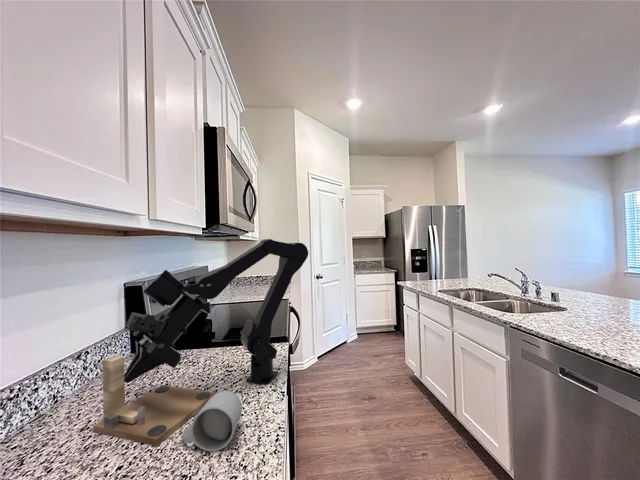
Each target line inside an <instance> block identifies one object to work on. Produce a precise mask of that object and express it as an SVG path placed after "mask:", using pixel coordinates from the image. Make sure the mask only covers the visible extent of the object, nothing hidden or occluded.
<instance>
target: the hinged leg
mask: <svg viewBox="0 0 640 480" xmlns="http://www.w3.org/2000/svg"><path fill="white" fill-rule="evenodd" d="M101 362H102V409H103V411H102V413H103V414H102V415H103V419H102V420H104V417H106V416H108V415H110V414H115V415H118V418H119V421H120V422H126V423H131V424H134V423H135V422H136V421H138V411H133V410H127V409H125V407H126V396H125V395H126V392H125V391H126V387H125V384H126V382H124V379H125V377H124V374H125V356H124V355H112V356H110V357H107V358H104V359H103V360H102V361H101Z"/></svg>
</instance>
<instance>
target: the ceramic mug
mask: <svg viewBox="0 0 640 480" xmlns="http://www.w3.org/2000/svg"><path fill="white" fill-rule="evenodd" d="M242 411H243V404H242V401H241V399H240V397H239V396H238V395H237V394H236V393H235V392H233V391H229V390H221V391H219V392H216V394H215V395H214V396H212V397H211V398H210V399H209V400H208V402H207V403H206V404H205V406H204V407H203V408H202V409H201V410H200V411H199V412H198V413H197V414H195V416H194V418H193V420H192V423H191V424H189V425H188V426H187V427H186V428H185V429H184V430H183V431H182V433H181V434H180V435H181V438H182V441H183V443H184V444H186V445H187V444H190V443H195V445H196V446H197V447H198V448H199V449H201V450H202V451H206V452H217V451H221V450H222V449H224V448H225V447H227V446H228V445H229V444H230V442H231V441H232V440H233V437H234V435H235V431H236V430H237V427H238V424H239V422H240V420H241V417H242V414H243V413H242Z"/></svg>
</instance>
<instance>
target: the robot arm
mask: <svg viewBox="0 0 640 480" xmlns="http://www.w3.org/2000/svg"><path fill="white" fill-rule="evenodd" d="M268 255H274V256H278V257H279V258H278V269H277V271H276V273H275V276H274V278H273V280H272V282H271V285H270V286H269V289H268V291H267V293H266V295H265V297H264V299H263V301H262V304H261V305H260V308H259V311H258V312H257V314H256V316H255V317H253V318H252V320H251V319H249V318H246V319H245V323H244V325H243V326H244V327H243V328H242V329H241V330H240V333H239V334H241V335H240V341H241V344H242V345H243V347H244V348H245V349H246V350H247V351H248V353H250V354H251V356H250V375H249V377H248V376H247V378H246V382H248V383H254V384H255V383H256V384H263V385H268V384H270V383H271V381H273V379H275V377H277V375H279V372H278V371H276V370H275V371H274V363H273V360H274V359H276V357H277V353H278V350H277V349H276V347H274V346H273V345H272V344H270V340H271V336H272V326H273V324H272V323H273V320H274V319H275V317H276V314H277V312H278V310H279V307H280V306H281V303H282V301H283V298H284V297H285V294H286V292H287V290H288V287H290V283H291V280H292V278H293V276H294V275H295V274H296V273H297V271H299V270H300V269H301V268H302V266H303V265H304V264H305V262H306V260H307V258H308V257H309V250H308V247H307V246H306V244H304V243H303V242H289V243H288V242H283V241H278V240H274V239H272V238H267V239H261V240H260V241H259V242H258V243H257V244H256V245H253V246H252V247H251V248H249V249H248V250H247V251H245V252H243V253H241V254H240V255H238V257H236V258H234V259H232V260H231V261H230V262H228V263H227V264H225V265H223V266H220V267H217V268H215V269H213V270H210V271H207V272H204V273H203V274H201V275H199V276H198V277H197V278H196V279H193V280H191V281H190V280H189V281H186V282H181V281H180V280H178V279H177V278H176V277H175V276H174V275H172V273H171V272H170V271H168V270H167V269H165V270H164V271H162V272H161V273H160V274H159V275H158V276H156V278H153V279H152V280H151V282H150V283H149V284H148V285H147V286H146V287H144V289H143V290H142V293H143V294H144V295H145V296H146V297H149V299H151V300H153V301H154V302H156V303H157V304H158V305H160V306H161V307H165V306H170V307H171V306H172V305H173V304H174V305H173V306H172V307H171V308H170V309H169V310H168V312H167V313H166V314H165V313H161V314H159V315H158V317H156V316H155V315H154V314H149V313H145V314H143V313H142V314H141V313H138V312H131V314H130V316H129V318H128V320H127V322H126V323H125V328H127V330H128V331H131V332H132V335H133V336H134V337H135V338H138V339H139V341H137V340H135V351H136V352H135V354H134V356H133V358H132V359H131V361H130V363H129V366H128V367H127V369H126V371H124V377H125V379H124V382H125V384H129V383H131V382H132V381H134V380H136V379H138V378H139V377H141V376H143V375H145V374H146V373H148V372H150V371H152V370H153V369H155V368H157V367H159V366H161V365H165V364H166V365H168V366H169V367H171V368H173V369H176V368H177V366H178V365H179V364H180V362H181V361H182V354H181V353H180V352H179V351H178V350H176V349H175V347H176V345H174V344H175V343H176V341H177V340H178V339H179V338H180V336H181V335H182V334H184V335H186V334H187V333H188V332H189V330H188V329H187V328H188V327H189V326H191V324H192V322H193V321H194V320H195V319H196V318H197V316H199V314H200V313H201V312H204V313H206V314H208V315H209V314H211V306H210V305H211V302H210V301H206V302H204V301H203V300H202V299H200V298H203V299H205V300H213V299H215V298H217V297H218V296H219V295H220V294H221V293H222V292H224V290H225V289H226V288H227V287H228V286H229V285H230V284H231V282H232V281H233V280H234V279H235V278H237V277H238V276H240V275H241V274H243V273H244V272H246V270H248V269H251V267H252V266H254V265H256V264H257V263H259V262H260V261H261V260H263V259H264V258H267V256H268ZM184 291H185V292H184ZM187 293H188V294H189V295H188V294H187ZM190 295H192V297H191V296H190ZM193 295H194V296H193ZM197 296H199V297H200V298H199V297H197Z"/></svg>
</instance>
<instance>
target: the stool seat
mask: <svg viewBox="0 0 640 480" xmlns="http://www.w3.org/2000/svg"><path fill="white" fill-rule="evenodd" d="M215 394H217V392H211V391H205V390H198V389H192V388H186V387H180V386H178V387H177V386H171V385H163V384H161V385H160V386H158V387H156V388H154V389H153V390H152V391H149V392H148V393H145V395H143V396H141V397H139V398H137V399H135V400H134V401H132V402H130V403H129V404H127V405H125V409H127V410H133V411H138V421H136V422H135V423H134V424H131V423H126V422H120V421H119V418H118V415H115V414H110V415H108V416H106V417H104V420H103V419H102V420H100V421H99V422H97V423H95V424H94V425H92V432H93V433H98V434H100V435H101V434H102V435H106V436H111V437H113V438H114V437H115V438H120V439H123V438H125V439H124V440H128V439H129V440H128V441H132V440H133V442H137V443H141V444H146V445H150V446H155V447H157V446H159V445H160V444H161V443H162V442H164V441H165V440H167V438H168V437H170V436H171V435H172V434H173V433H175V432H176V431H177V430H179V428H181V427H182V426H183V425H184V424H186V423H187V422H188V421H189V420H191V419H192V418H193V417H195V416H196V415H197V414H198V413H199V412H200V410H201V409H202V408H203V407H204V406H205V404H206V403H207V402H208V400H209V399H210V398H211V397H212V396H214V395H215Z"/></svg>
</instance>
